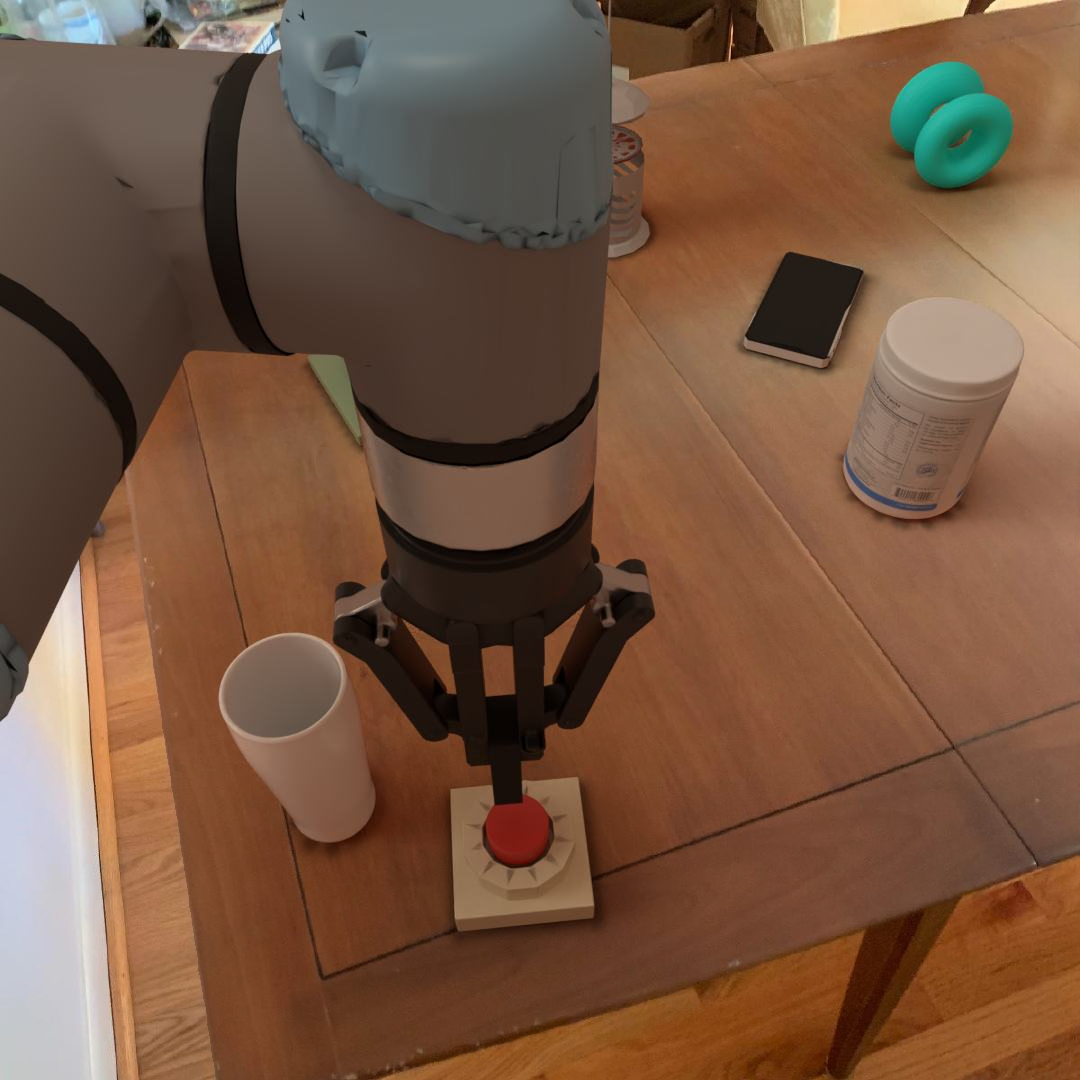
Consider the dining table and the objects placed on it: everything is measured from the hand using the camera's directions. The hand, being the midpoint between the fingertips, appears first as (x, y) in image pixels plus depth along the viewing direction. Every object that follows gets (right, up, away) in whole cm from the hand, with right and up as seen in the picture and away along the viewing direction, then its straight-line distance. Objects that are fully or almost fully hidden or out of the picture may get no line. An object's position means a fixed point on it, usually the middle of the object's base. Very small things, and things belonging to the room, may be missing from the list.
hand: (506, 779), depth 51 cm
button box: (+1, -7, +8) cm, 11 cm away
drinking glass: (-11, -4, +11) cm, 16 cm away
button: (0, -5, +6) cm, 7 cm away
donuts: (+46, +54, +57) cm, 90 cm away
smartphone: (+27, +34, +41) cm, 60 cm away
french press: (+7, +45, +51) cm, 68 cm away
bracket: (-12, +26, +36) cm, 46 cm away
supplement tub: (+31, +17, +28) cm, 45 cm away
